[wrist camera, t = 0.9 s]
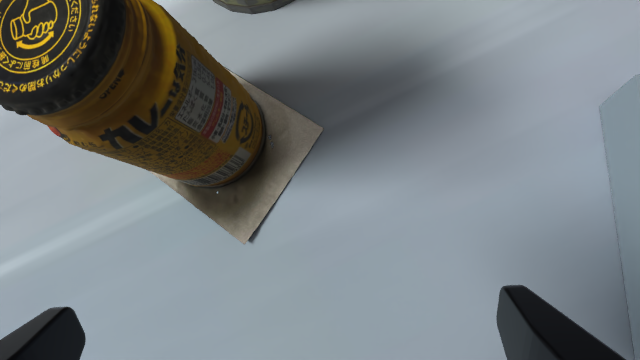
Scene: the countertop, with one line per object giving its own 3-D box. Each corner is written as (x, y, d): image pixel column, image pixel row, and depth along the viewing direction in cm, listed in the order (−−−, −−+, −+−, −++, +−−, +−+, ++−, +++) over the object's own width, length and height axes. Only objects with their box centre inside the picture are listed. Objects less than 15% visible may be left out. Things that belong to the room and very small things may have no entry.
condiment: (208, 57, 25) (27, -114, 14) (324, 129, 23) (225, -6, 11) (137, 161, 25) (-107, 76, 13) (247, 244, 22) (64, 228, 11)
